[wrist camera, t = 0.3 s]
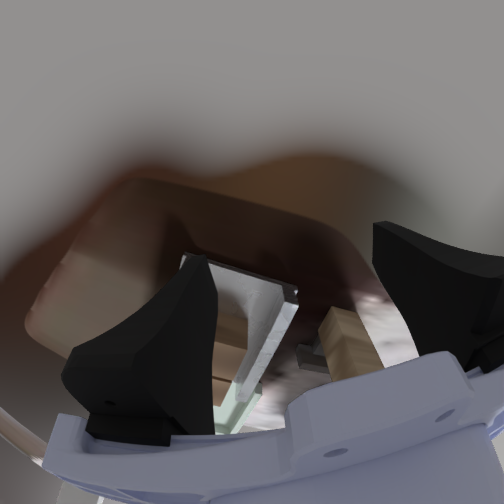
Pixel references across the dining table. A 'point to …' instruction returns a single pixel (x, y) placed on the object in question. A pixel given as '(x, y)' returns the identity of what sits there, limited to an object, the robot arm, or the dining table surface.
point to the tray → (234, 411)
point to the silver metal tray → (253, 316)
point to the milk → (76, 496)
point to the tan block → (340, 347)
